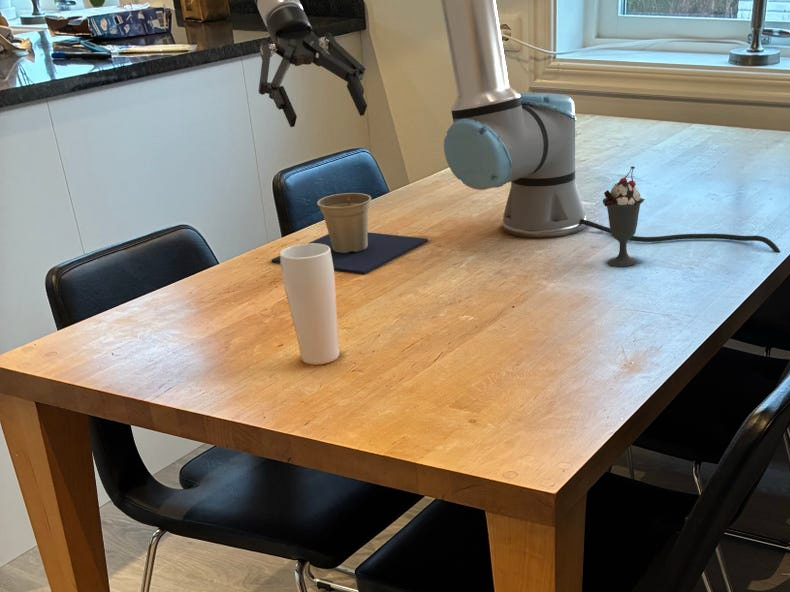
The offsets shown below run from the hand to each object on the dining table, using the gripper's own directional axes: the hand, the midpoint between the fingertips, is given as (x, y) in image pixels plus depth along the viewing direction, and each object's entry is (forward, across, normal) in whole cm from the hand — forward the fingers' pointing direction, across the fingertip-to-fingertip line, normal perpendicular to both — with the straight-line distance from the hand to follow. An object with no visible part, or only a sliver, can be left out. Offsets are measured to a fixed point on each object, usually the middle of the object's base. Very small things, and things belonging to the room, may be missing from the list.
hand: (329, 116), depth 186 cm
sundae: (+50, -28, +19) cm, 60 cm away
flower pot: (+23, +4, -6) cm, 24 cm away
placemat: (+23, +4, -6) cm, 25 cm away
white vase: (+55, +29, +24) cm, 66 cm away
